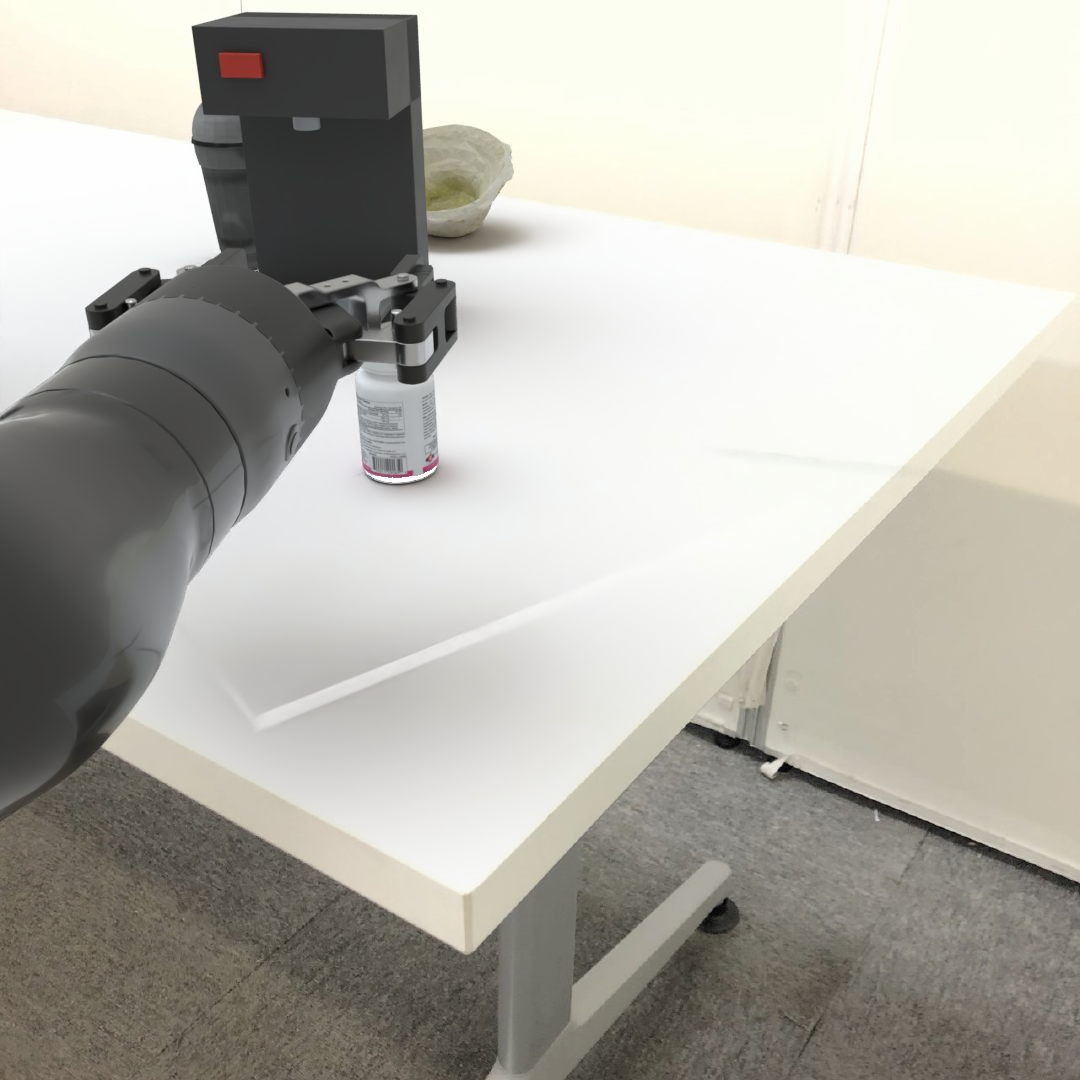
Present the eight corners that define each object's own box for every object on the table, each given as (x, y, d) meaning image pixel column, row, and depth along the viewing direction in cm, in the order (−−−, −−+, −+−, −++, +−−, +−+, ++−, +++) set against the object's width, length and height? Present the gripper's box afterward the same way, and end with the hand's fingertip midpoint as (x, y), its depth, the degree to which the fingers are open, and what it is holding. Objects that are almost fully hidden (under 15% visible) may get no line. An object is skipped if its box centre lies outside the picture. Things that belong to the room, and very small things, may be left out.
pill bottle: (414, 446, 73) (406, 321, 69) (453, 472, 70) (448, 343, 66) (348, 464, 71) (337, 336, 66) (386, 493, 67) (376, 360, 63)
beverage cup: (232, 278, 105) (200, 45, 95) (195, 262, 109) (161, 38, 99) (300, 263, 109) (276, 39, 99) (261, 248, 113) (235, 32, 103)
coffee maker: (430, 300, 99) (417, 14, 88) (393, 357, 87) (372, 33, 76) (277, 294, 101) (244, 11, 89) (220, 348, 89) (173, 30, 77)
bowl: (354, 247, 114) (346, 144, 109) (401, 214, 126) (395, 120, 121) (496, 257, 111) (494, 152, 106) (530, 222, 123) (530, 126, 118)
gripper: (387, 308, 36) (474, 194, 50) (-27, 291, 38) (169, 186, 52) (401, 513, 40) (479, 354, 54) (23, 490, 41) (194, 341, 55)
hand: (327, 272), depth 53 cm, fingers open, 8 cm apart
